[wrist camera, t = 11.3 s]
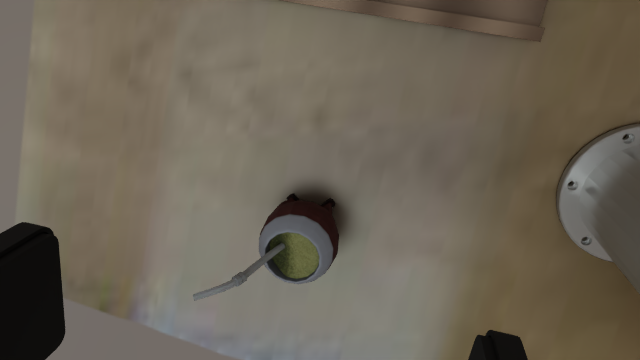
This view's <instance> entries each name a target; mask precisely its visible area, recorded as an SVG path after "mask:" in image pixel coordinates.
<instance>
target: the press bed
mask: <svg viewBox="0 0 640 360" xmlns="http://www.w3.org/2000/svg"><path fill="white" fill-rule="evenodd" d="M281 1H288V2H294V3H300V4H307V5H313V6H319V7H325V8H332V9H338V10H344V11H351V12H357V13H363V14H369V15H376V16H382V17H388V18H395V19H401V20H407V21H413V22H420V23H426V24H432V25H439V26H445V27H451V28H457V29H464V30H470V31H476V32H483V33H489V34H495V35H501V36H508V37H514V38H520V39H526V40H533V41H539V42H541V39H542V36H543V32H544V29H545V28H543V27H539V26H540V23H541V20H542V17H543V13H544V10H545V7H546V3H547V0H281Z"/></svg>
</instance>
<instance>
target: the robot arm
mask: <svg viewBox="0 0 640 360" xmlns="http://www.w3.org/2000/svg"><path fill="white" fill-rule="evenodd" d="M625 134H627V136H626V138H624V139H622V138H623V136H624V135H625ZM571 181H572V183H571V184H568V183H569V182H571ZM556 204H557V212H558V216H559V219H560V222H561V224H562V225H563V227H564V229H565V231H566V232H567V234H568V235H569V236H570V238H571V239H572V240H573V241H574V242H575V243H576V244H577V245H578V246H579V247H580V248H581V249H583V250H584V251H586V252H588V253H589V254H591V255H593V256H595V257H598V258H600V259H603V260H605V261H610V262H614V263H615V264H616V265H617V267H618V268H619V269H620V270H621V272H622V273H623V274H624V275H625V277H626V278H627V279H628V280H629V282H630V283H631V284H632V285H633V287H634V288H635V289H636V290H637V292H638V293H639V294H640V123H639V124H633V125H627V126H623V127H620V128H618V129H615V130H612V131H609V132H607V133H605V134H603V135H601V136H599V137H597V138H596V139H594V140H593V141H591V142H590V143H589V144H587V145H586V146H585V147H583V148H582V149H581V150H580V151H579V152H578V153H577V154H576V155H575V156H574V157H573V159H572V160H571V161H570V163H569V164H568V166H567V167H566V169H565V170H564V172H563V175H562V177H561V179H560V182H559V185H558V190H557V195H556ZM584 237H585V238H584ZM582 238H583V239H582ZM64 335H65V320H64V308H63V294H62V281H61V268H60V255H59V242H58V239H57V237H56V236H54V234H53V232H52V230H51V229H50V228H48V227H44V226H40V225H35V224H31V223H27V222H22V223H19V224H17V225H15V226H13V227H11V228H10V229H8V230H6V231H4V232H2V233H1V234H0V360H45V359H46V358H47V357H48V356H49V355H50V354H51V353H53V352H54V351H55V350H56V349H57V348H58V346H59V345H60V344H61V342H62V340H63V338H64ZM468 360H528V359H527V356H526V353H525V350H524V347H523V344H522V341H521V339H520V337H518V336H515V335H510V334H506V333H502V332H497V331H493V330H489V331H488V332H487V333H486V336H482V335H477V337H476V339H475V341H474V344H473V347H472V350H471V353H470V356H469V359H468Z"/></svg>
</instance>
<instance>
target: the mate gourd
mask: <svg viewBox="0 0 640 360" xmlns="http://www.w3.org/2000/svg"><path fill="white" fill-rule="evenodd" d="M334 206H335V202H334V200H333V199H331V198H330V199H328V200H327V201H325V202H324V203H323V204H321V205H318V204H316V203H314V202H309V201H301V200H299V199H298V198H297V197H296V196H295V195H294V194H291V195H289V196H288V197H287V201H284V202H282V203H281V204H280V205H279V206H278V207H277V208H276V209H275V210H274V211H273V212H272V214H271V215H270V216H269V217H268V218H267V221H266V223H265V225H264V227H263V229H262V231H261V233H260V237H259V253H260V256H261V258H260V259H259V260H258V261H256V262H255V263H254V264H252V265H251V266H250V267H249V268H247V269H246V270H245V271H243V272H240V273H238V274H237V275H235V276H234V277H232V280H230V281H228V282H226V283H224V284H222V285H219V286H216V287H213V288H211V289H208V290H205V291H202V292H199V293H196V294H193V298H194V301H195V300H198V299H202V298H205V297H208V296H211V295H214V294H218V293H221V292H223V291H226V290H228V289H231V288H233V287H235V286H239V285H241V284H242V283H244V282H245V281H246V280H247V277H249V276H250V275H251V274H252V273H254V272H255V271H256V270H257V269H258V268H260V267H261V266H262V265H263V264H264V265H265V267H266V268H267V269H268V270H269V271H270V272H271V273H272V274H273V275H274V276H275V277H277V278H279V279H281V280H283V281H284V282H289V283H295V284H301V283H307V282H312V281H314V280H316V279H317V278H319V277H320V276H322V275H323V274H325V273H326V271H327V270H328V269H329V267H330V266H331V264H332V262H333V261H334V259H335V257H336V255H337V252H338V240H339V234H338V231H337V227H336V224H335V220H334V218H333V217H332V207H334Z"/></svg>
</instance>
